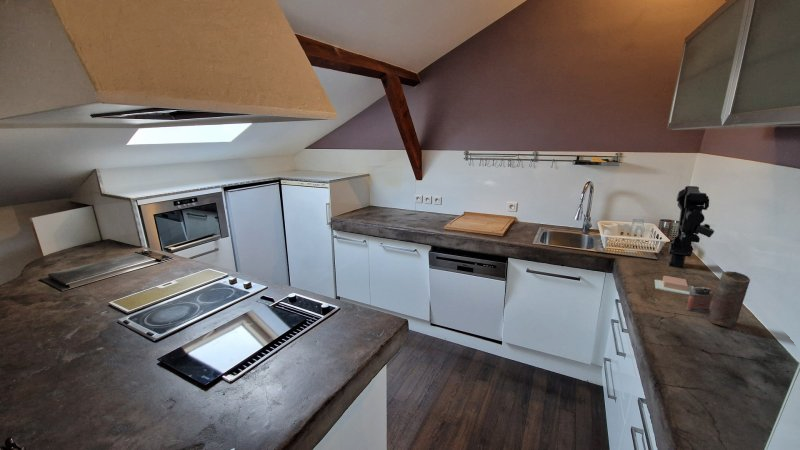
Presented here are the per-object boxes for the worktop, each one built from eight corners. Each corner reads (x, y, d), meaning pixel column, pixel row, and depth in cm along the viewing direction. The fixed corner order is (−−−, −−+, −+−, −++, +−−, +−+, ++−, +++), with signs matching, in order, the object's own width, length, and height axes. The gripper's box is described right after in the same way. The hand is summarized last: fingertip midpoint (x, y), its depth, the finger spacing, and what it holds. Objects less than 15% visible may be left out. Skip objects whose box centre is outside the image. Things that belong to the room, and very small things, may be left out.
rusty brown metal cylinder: (736, 323, 122) (751, 274, 116) (735, 332, 117) (750, 281, 111) (708, 316, 127) (721, 268, 121) (706, 324, 122) (719, 275, 117)
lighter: (704, 307, 133) (710, 285, 130) (711, 312, 130) (717, 289, 127) (683, 307, 134) (688, 285, 131) (689, 311, 130) (695, 289, 128)
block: (663, 275, 155) (664, 282, 149) (685, 279, 151) (687, 286, 144) (662, 280, 156) (663, 287, 150) (684, 284, 151) (686, 291, 145)
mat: (654, 280, 157) (654, 279, 157) (692, 287, 149) (693, 286, 149) (655, 288, 149) (655, 287, 149) (696, 296, 142) (696, 295, 141)
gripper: (718, 226, 142) (710, 260, 146) (711, 216, 156) (703, 247, 161) (685, 223, 148) (678, 255, 152) (681, 214, 162) (674, 243, 167)
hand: (684, 250), depth 158 cm, fingers closed
